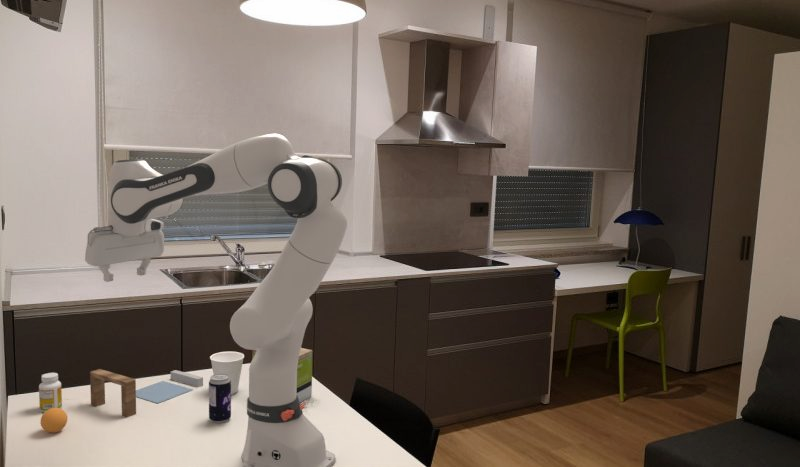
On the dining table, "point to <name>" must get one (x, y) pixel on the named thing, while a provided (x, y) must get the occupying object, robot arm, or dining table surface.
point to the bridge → (126, 383)
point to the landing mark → (161, 392)
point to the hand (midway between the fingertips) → (125, 277)
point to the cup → (228, 366)
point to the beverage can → (219, 398)
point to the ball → (54, 420)
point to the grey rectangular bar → (186, 378)
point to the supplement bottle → (50, 392)
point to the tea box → (302, 374)
